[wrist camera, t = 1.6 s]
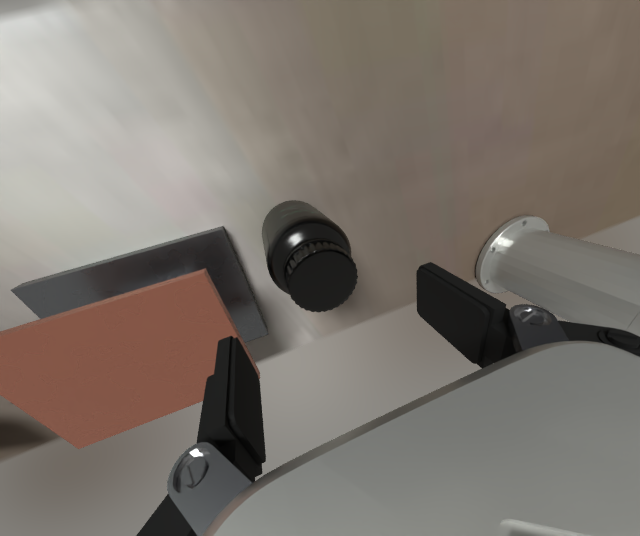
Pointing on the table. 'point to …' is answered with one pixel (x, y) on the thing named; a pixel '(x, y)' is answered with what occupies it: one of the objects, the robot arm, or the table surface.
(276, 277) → the supplement bottle
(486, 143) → the table surface
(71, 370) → the stand
